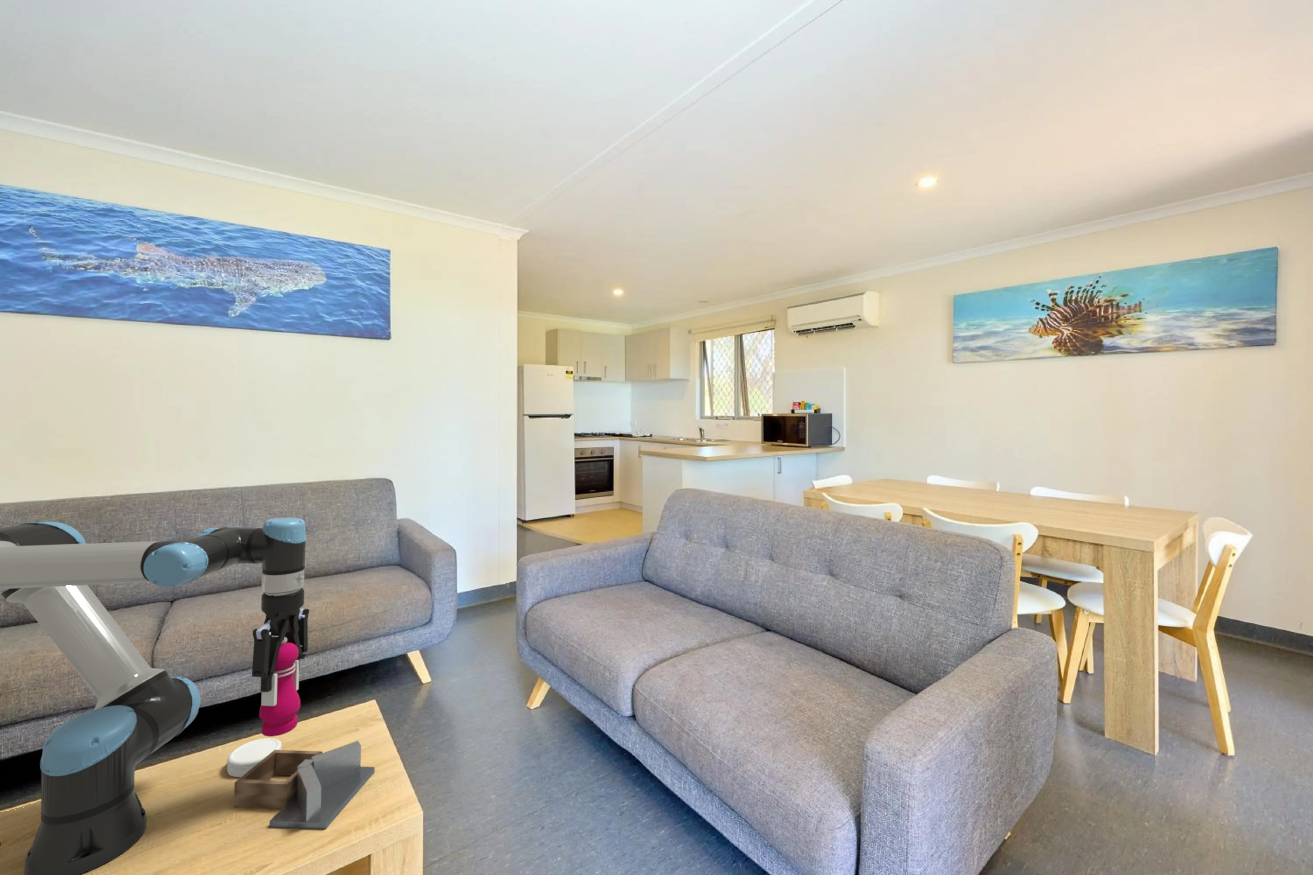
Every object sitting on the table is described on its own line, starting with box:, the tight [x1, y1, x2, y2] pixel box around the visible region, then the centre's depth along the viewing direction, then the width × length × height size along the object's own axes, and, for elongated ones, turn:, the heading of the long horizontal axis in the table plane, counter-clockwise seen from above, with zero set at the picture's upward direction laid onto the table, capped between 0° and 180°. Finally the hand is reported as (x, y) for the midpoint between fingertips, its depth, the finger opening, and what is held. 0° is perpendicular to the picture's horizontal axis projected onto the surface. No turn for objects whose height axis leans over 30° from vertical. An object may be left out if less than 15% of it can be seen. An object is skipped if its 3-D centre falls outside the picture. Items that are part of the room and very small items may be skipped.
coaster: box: [226, 737, 283, 778], centre depth 121 cm, size 10×10×4 cm
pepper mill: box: [258, 637, 301, 738], centre depth 112 cm, size 7×7×20 cm
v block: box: [269, 740, 376, 830], centre depth 110 cm, size 17×11×7 cm, turn 179°
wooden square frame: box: [233, 749, 323, 809], centre depth 112 cm, size 11×11×5 cm
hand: (280, 696), depth 112 cm, fingers closed on pepper mill, 6 cm apart
